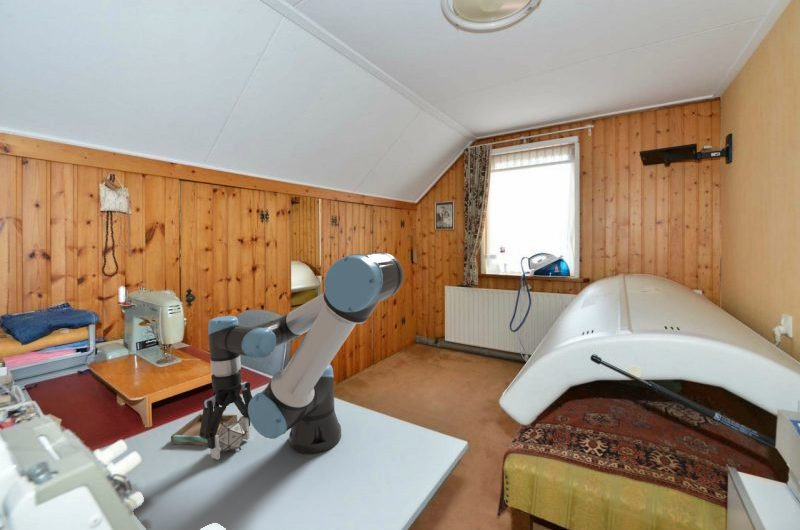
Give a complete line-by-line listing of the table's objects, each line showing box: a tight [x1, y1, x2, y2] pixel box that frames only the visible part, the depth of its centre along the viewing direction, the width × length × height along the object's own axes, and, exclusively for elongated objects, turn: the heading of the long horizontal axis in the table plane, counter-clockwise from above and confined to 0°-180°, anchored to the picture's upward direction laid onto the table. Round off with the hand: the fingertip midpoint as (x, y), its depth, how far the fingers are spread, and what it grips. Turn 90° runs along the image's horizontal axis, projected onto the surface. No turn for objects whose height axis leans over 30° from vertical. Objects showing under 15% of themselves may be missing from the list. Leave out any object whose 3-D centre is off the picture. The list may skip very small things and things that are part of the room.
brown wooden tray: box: [170, 413, 238, 446], centre depth 109 cm, size 13×13×2 cm
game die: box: [218, 417, 248, 455], centre depth 100 cm, size 9×8×10 cm
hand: (231, 447), depth 100 cm, fingers closed on game die, 9 cm apart
